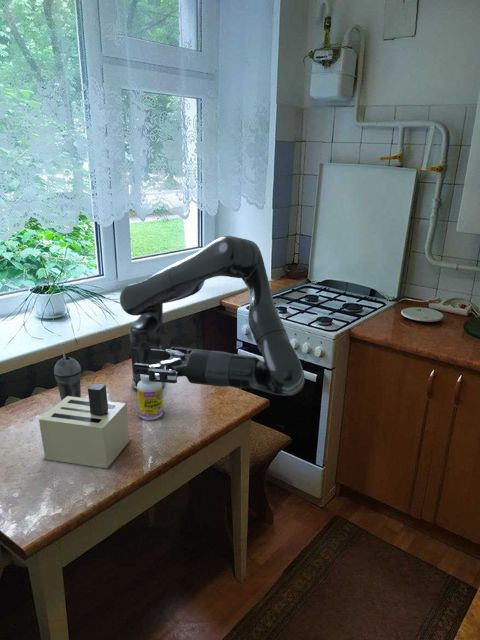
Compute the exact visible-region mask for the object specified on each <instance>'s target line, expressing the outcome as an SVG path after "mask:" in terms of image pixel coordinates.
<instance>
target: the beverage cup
mask: <svg viewBox="0 0 480 640" xmlns="http://www.w3.org/2000/svg"><path fill="white" fill-rule="evenodd" d="M60 346H61V352H62V358H60V359H59V360H57V362H56V363H55V365H54V367H53V376H54V378H55V381H56V384H57V388H58V392H59V397H60V400H61V401H62V400H63V399H64V398H65V397H67V396H71V397H79V398H82V395H81V393H82V392H81V391H82V389H81V378H82V368H81V364H80V363H79V361H77V360H76V359H75V358H74V357H71V356H66V353H65V349H64V344H61V345H60ZM61 401H60V402H61Z"/></svg>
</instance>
